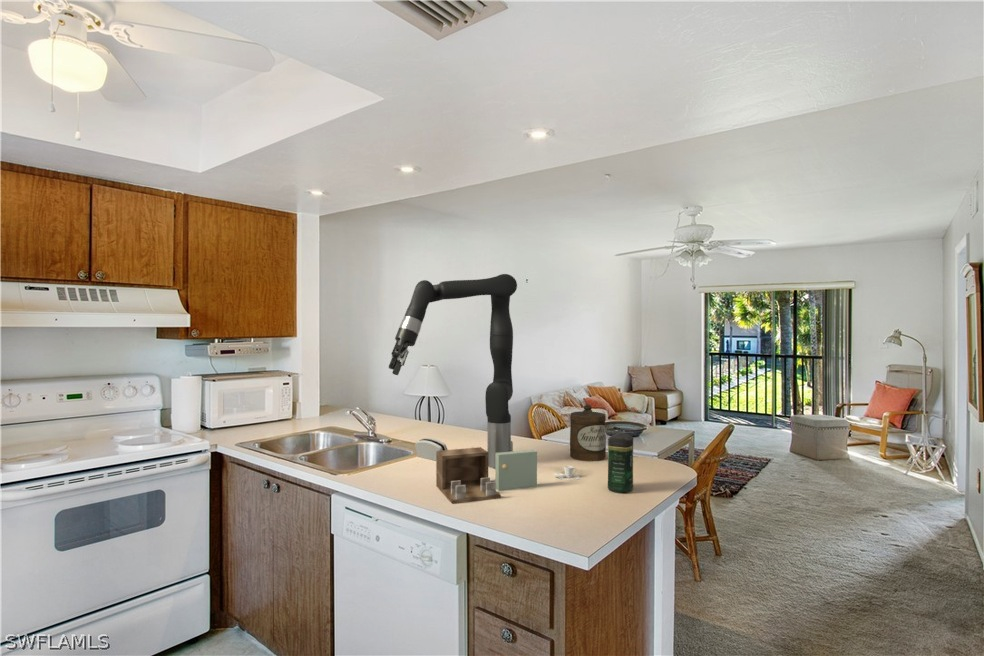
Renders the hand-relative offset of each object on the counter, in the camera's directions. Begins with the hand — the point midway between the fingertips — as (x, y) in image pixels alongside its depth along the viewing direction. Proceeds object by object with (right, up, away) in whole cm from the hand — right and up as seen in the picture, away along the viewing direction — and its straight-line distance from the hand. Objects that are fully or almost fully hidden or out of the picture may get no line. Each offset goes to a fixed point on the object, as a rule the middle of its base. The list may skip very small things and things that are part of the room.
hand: (393, 371), depth 188 cm
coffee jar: (+79, -38, -13) cm, 89 cm away
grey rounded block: (+11, -39, +27) cm, 49 cm away
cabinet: (+27, -38, -16) cm, 50 cm away
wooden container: (+76, -39, +32) cm, 91 cm away
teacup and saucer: (+62, -39, +4) cm, 73 cm away
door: (+44, -38, -11) cm, 59 cm away
